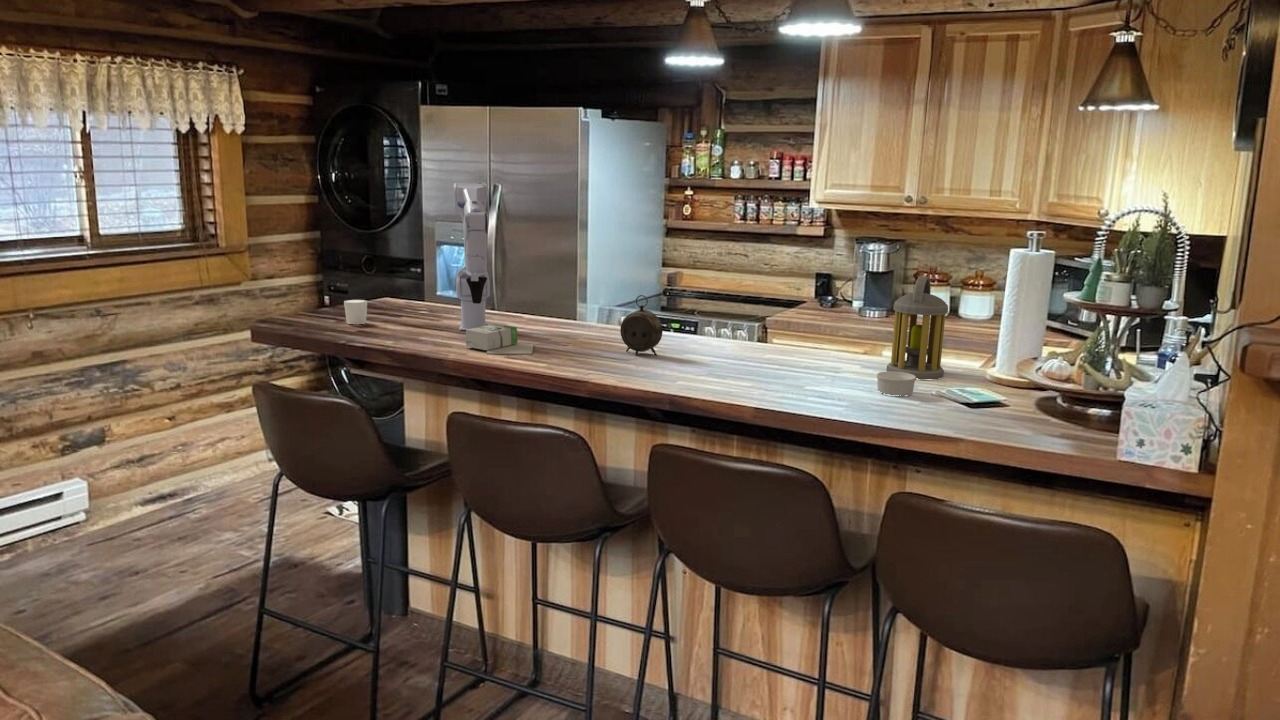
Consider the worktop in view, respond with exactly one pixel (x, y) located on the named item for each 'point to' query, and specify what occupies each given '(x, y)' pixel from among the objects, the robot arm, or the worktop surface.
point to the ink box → (491, 336)
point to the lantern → (918, 333)
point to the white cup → (356, 311)
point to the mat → (513, 349)
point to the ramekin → (896, 383)
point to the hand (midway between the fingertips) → (477, 303)
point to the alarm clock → (641, 330)
